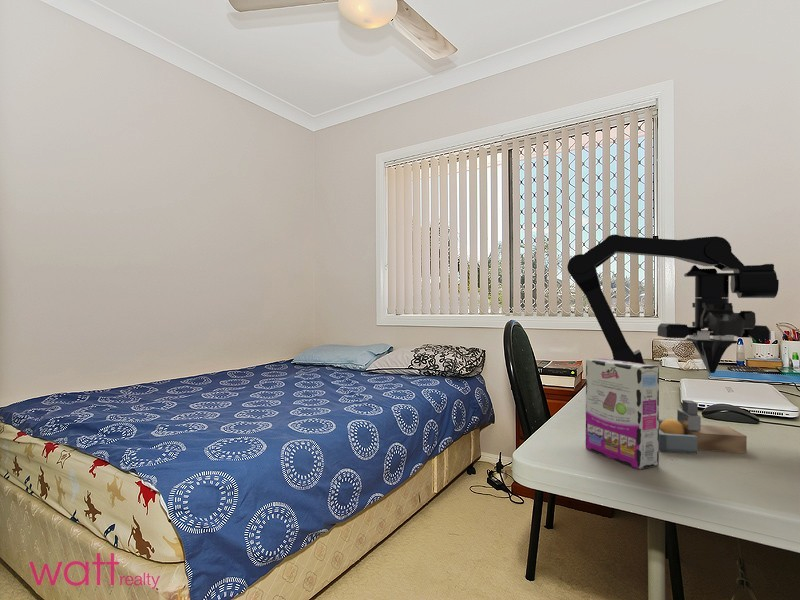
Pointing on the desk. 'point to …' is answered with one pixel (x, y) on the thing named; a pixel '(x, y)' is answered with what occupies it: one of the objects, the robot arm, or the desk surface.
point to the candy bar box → (623, 411)
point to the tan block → (719, 439)
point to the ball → (671, 427)
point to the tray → (677, 442)
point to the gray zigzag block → (689, 415)
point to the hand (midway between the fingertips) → (711, 372)
